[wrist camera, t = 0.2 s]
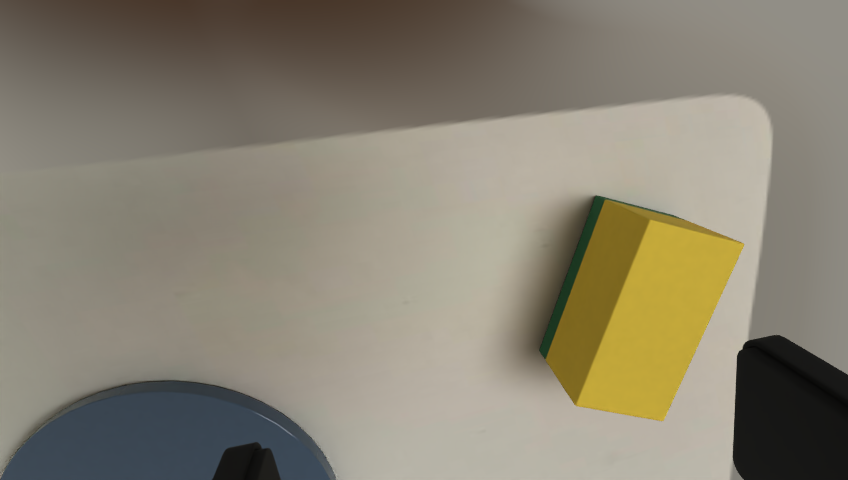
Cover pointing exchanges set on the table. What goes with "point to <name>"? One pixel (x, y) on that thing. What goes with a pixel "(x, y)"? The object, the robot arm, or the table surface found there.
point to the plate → (162, 436)
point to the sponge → (635, 307)
